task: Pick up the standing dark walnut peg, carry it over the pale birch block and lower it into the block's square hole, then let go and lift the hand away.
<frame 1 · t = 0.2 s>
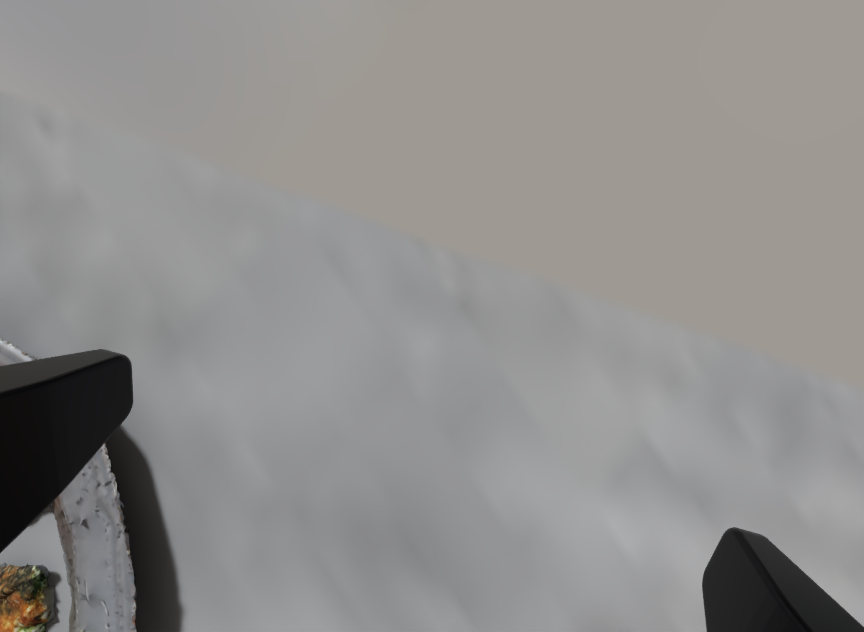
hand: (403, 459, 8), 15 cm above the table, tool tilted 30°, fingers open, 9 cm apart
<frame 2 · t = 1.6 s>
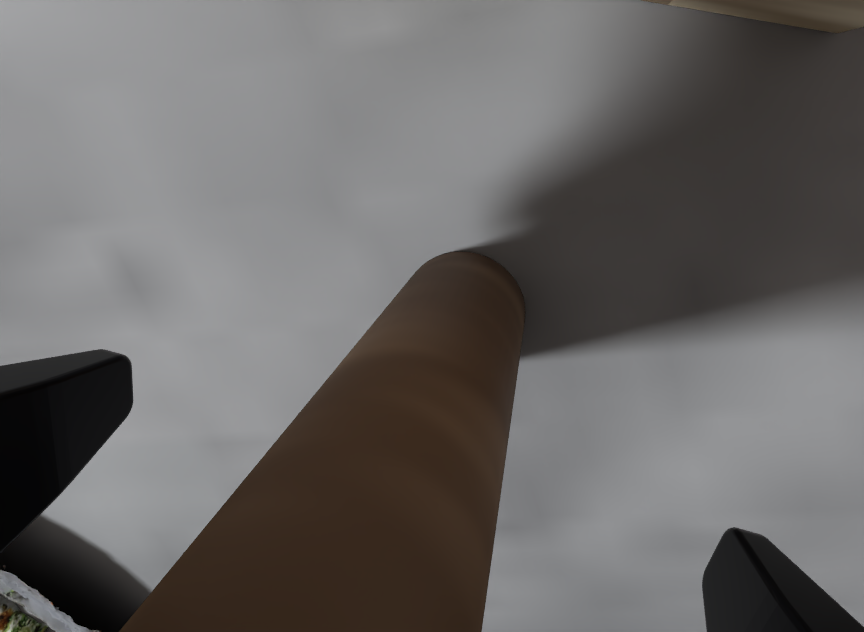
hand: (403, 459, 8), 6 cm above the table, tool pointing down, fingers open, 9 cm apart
walnut peg: (463, 311, 13), on the table
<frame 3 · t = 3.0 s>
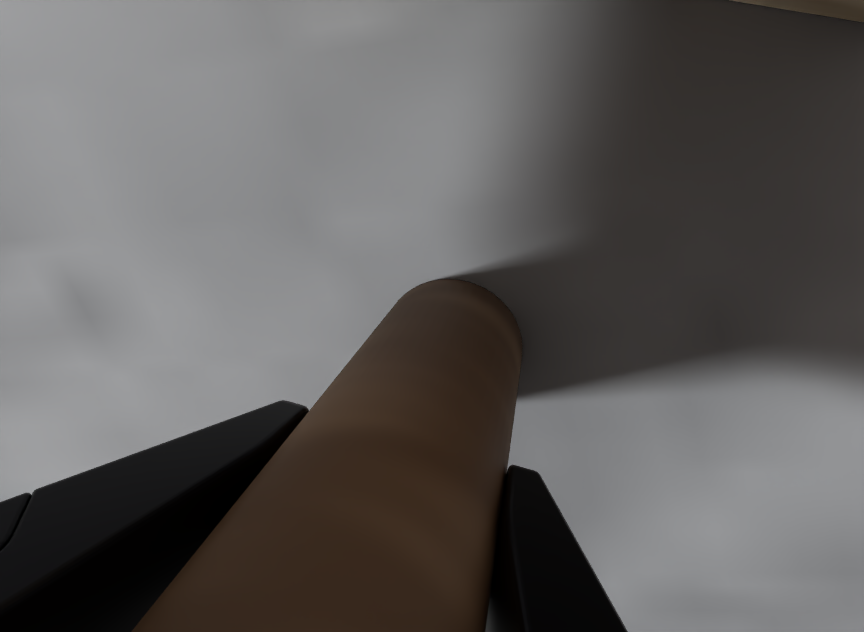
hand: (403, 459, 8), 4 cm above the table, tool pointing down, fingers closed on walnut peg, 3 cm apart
walnut peg: (451, 346, 12), on the table, touching gripper
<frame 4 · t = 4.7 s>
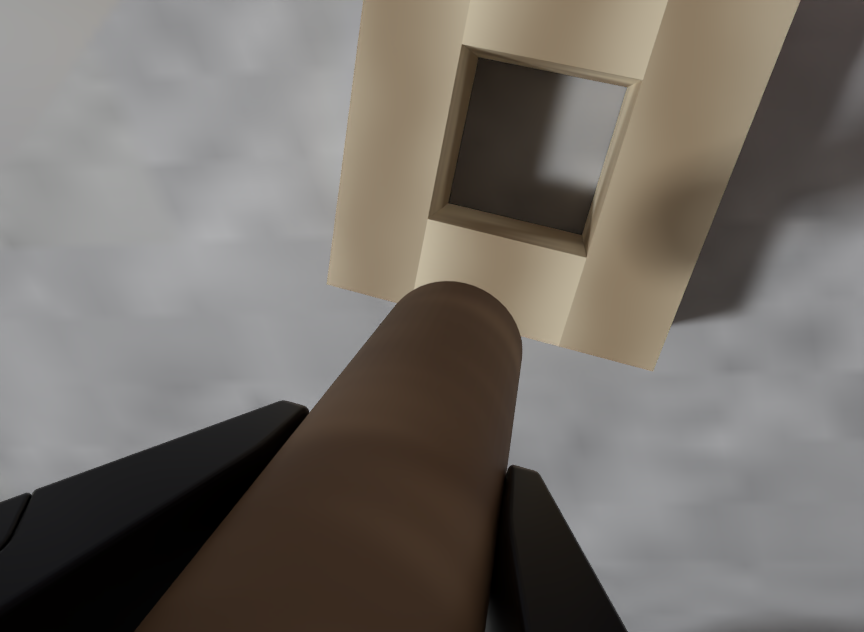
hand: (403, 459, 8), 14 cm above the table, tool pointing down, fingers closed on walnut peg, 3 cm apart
hole block: (531, 149, 19), on the table
walnut peg: (451, 348, 12), point 10 cm above the table, touching gripper
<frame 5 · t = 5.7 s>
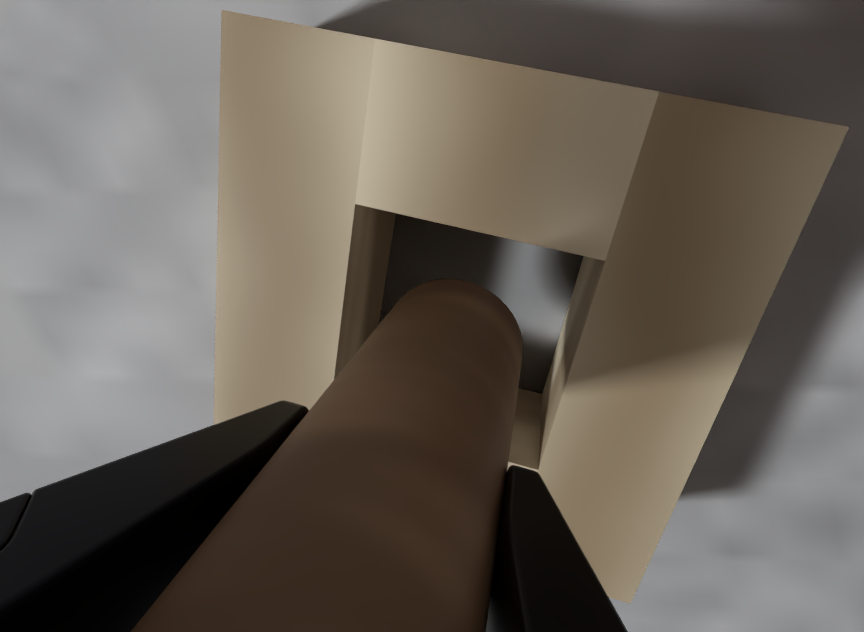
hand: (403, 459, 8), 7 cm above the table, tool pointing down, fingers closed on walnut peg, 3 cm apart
hole block: (474, 292, 15), on the table
walnut peg: (451, 346, 12), point 4 cm above the table, touching gripper
when the fingers open (5 cm above the table, at t = 6.4 s): walnut peg drops 1 cm, resting in hole block.
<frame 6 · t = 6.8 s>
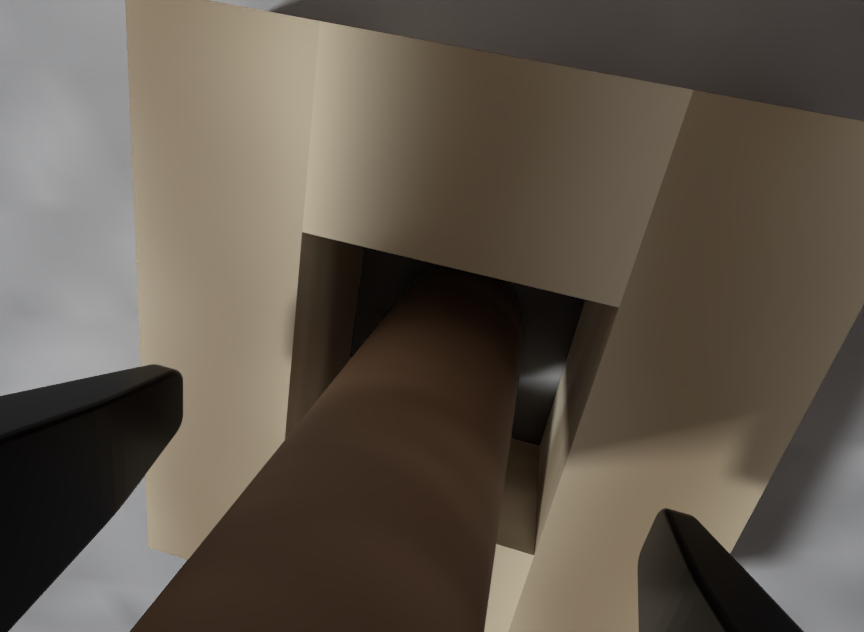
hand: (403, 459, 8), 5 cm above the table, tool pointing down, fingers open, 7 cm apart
hole block: (459, 328, 12), on the table
walnut peg: (459, 328, 12), resting in hole block
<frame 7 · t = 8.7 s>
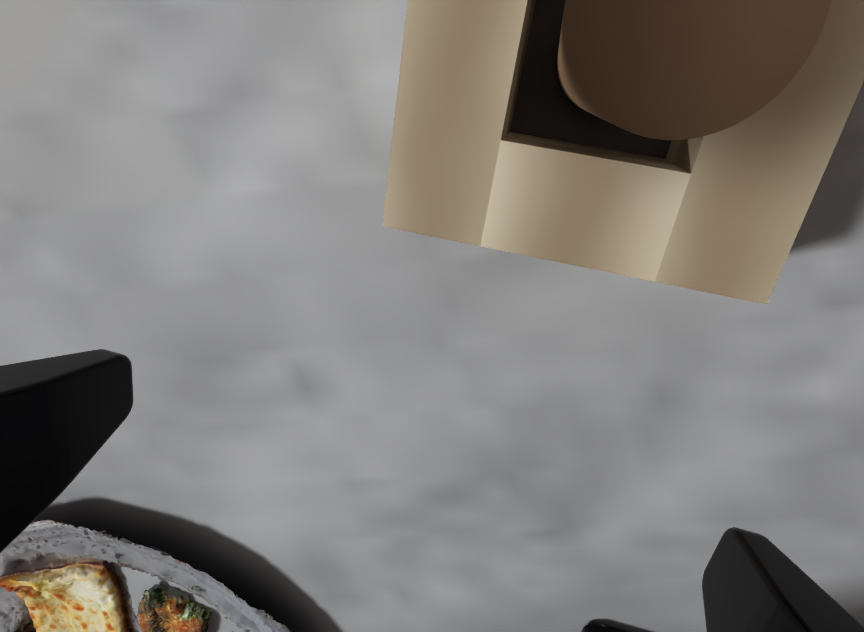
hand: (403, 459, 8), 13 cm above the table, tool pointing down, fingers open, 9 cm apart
hole block: (607, 60, 16), on the table
walnut peg: (607, 60, 16), resting in hole block
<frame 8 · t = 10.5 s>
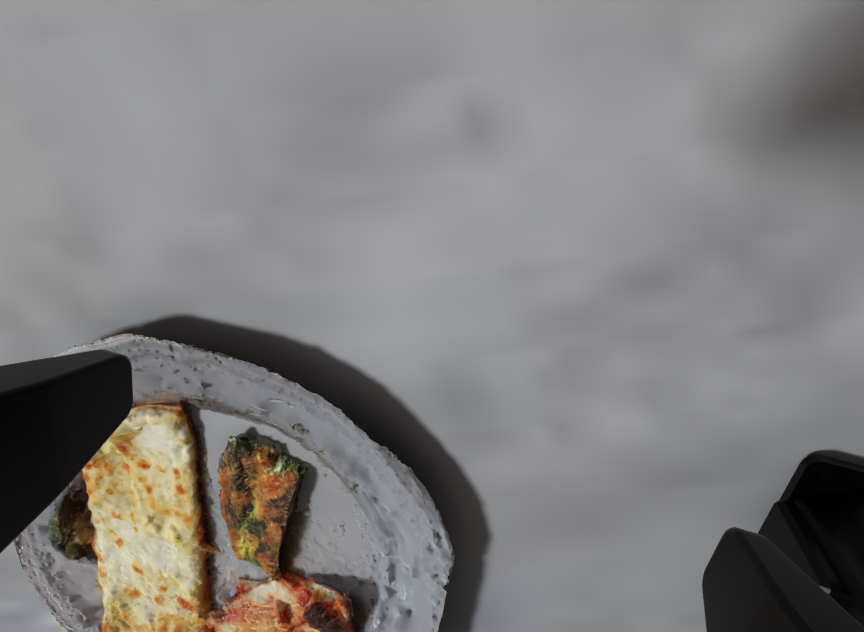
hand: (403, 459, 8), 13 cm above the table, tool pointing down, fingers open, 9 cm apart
food plate: (234, 541, 29), on the table
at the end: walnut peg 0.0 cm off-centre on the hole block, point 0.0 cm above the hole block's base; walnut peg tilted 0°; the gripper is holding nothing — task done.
